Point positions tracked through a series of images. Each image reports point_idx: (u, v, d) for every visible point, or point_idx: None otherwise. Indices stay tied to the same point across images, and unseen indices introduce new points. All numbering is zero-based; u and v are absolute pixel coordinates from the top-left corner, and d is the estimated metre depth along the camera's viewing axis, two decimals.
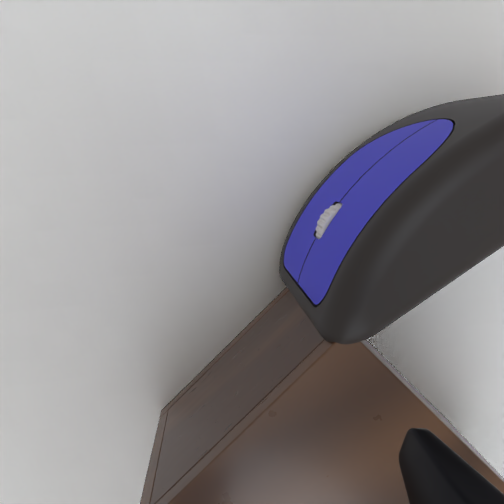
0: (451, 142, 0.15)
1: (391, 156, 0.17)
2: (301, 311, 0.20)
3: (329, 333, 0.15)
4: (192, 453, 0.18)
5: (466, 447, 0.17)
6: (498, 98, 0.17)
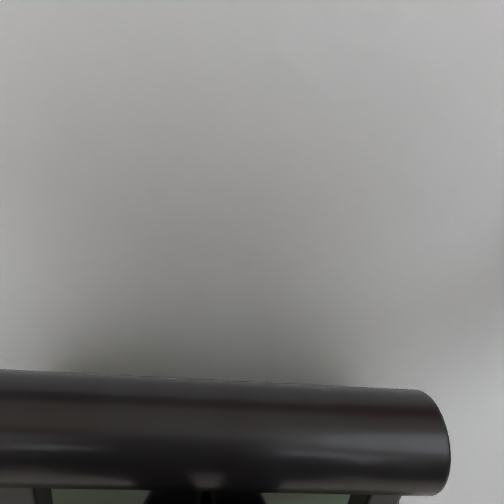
0: None
1: None
2: None
3: None
4: None
5: None
6: None
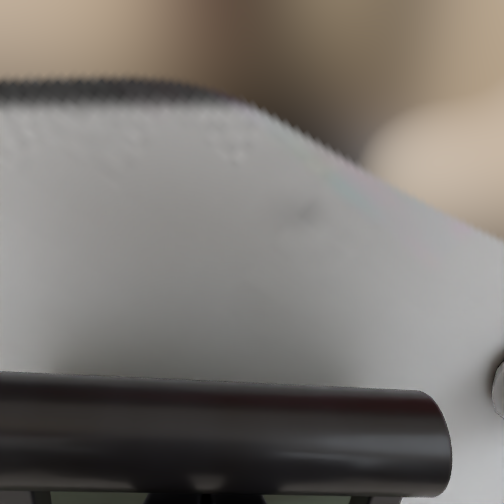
0: None
1: None
2: None
3: None
4: None
5: None
6: None
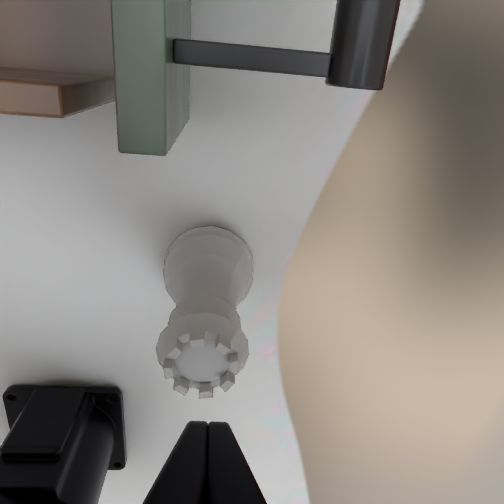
0: None
1: None
2: None
3: None
4: None
5: None
6: None
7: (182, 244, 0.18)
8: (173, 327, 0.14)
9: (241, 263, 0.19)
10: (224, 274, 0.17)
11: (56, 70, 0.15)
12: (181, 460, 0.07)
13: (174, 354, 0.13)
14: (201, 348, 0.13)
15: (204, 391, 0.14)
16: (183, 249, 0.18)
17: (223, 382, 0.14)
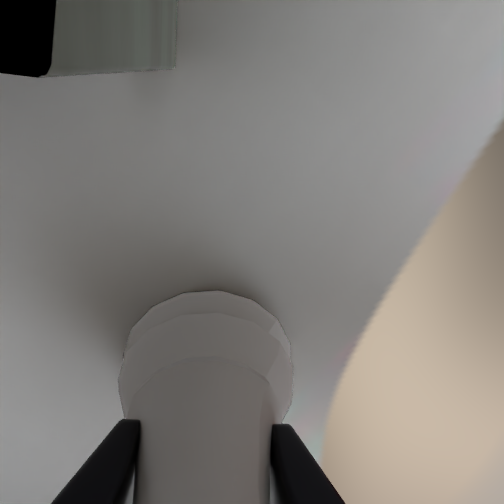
0: None
1: None
2: None
3: None
4: None
5: None
6: None
7: (156, 333, 0.09)
8: None
9: (276, 373, 0.09)
10: (246, 415, 0.08)
11: None
12: (102, 458, 0.07)
13: None
14: None
15: None
16: (158, 346, 0.09)
17: None
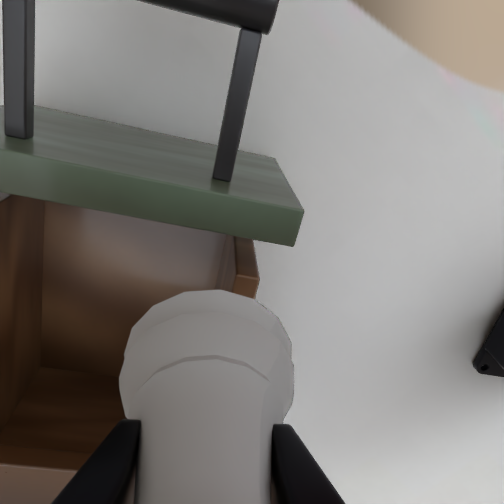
0: None
1: None
2: None
3: None
4: None
5: None
6: None
7: (157, 332, 0.09)
8: None
9: (277, 372, 0.09)
10: (247, 413, 0.08)
11: (221, 256, 0.19)
12: (102, 458, 0.07)
13: None
14: None
15: None
16: (159, 345, 0.09)
17: None
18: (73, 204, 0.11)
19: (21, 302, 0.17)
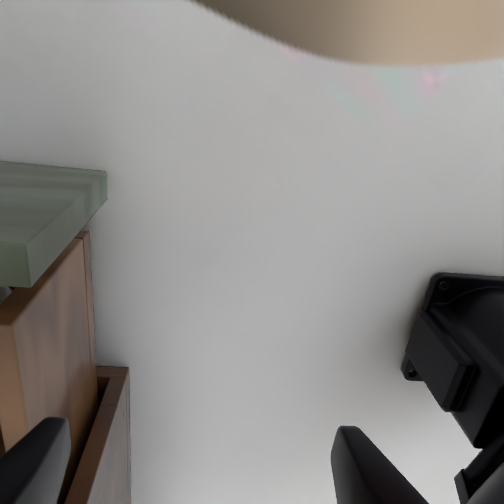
0: None
1: None
2: None
3: None
4: None
5: None
6: None
7: None
8: None
9: None
10: None
11: None
12: (15, 456, 0.07)
13: None
14: None
15: None
16: None
17: None
18: None
19: None
